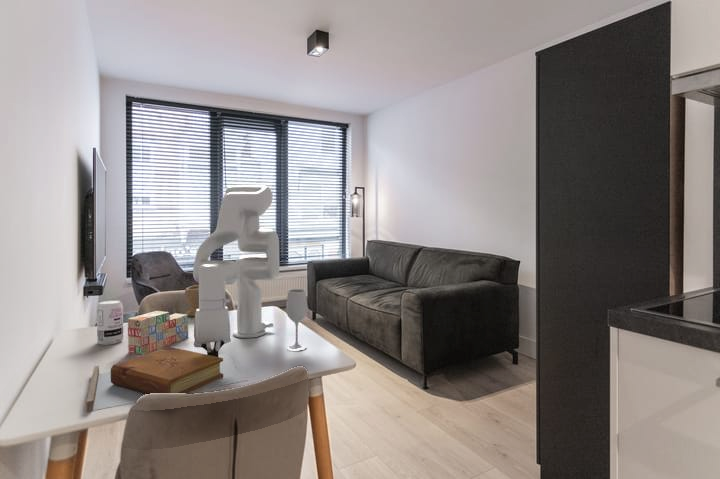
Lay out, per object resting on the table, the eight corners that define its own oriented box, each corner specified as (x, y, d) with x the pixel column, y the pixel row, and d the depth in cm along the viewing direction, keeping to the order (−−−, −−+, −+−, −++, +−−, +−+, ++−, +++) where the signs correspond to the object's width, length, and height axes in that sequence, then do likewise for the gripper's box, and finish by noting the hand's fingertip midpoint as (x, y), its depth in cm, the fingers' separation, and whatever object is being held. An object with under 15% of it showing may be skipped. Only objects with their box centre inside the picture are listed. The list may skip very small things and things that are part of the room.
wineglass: (299, 343, 148) (299, 288, 147) (311, 348, 143) (311, 290, 142) (281, 348, 143) (281, 290, 142) (294, 353, 138) (294, 293, 137)
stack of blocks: (176, 336, 156) (175, 305, 156) (188, 338, 154) (188, 306, 154) (127, 353, 136) (127, 317, 136) (141, 355, 134) (141, 319, 134)
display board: (227, 354, 137) (227, 346, 136) (247, 381, 114) (247, 371, 114) (94, 375, 117) (94, 366, 117) (87, 412, 95) (86, 401, 95)
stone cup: (179, 317, 185) (179, 285, 185) (197, 312, 197) (197, 282, 196) (206, 320, 181) (205, 288, 180) (222, 314, 192) (222, 284, 191)
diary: (110, 386, 110) (110, 365, 110) (169, 364, 127) (169, 346, 126) (168, 402, 100) (167, 380, 100) (223, 376, 117) (223, 357, 116)
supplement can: (105, 338, 152) (104, 300, 151) (127, 338, 152) (126, 300, 152) (92, 345, 144) (91, 304, 143) (116, 345, 144) (115, 304, 143)
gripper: (234, 299, 128) (234, 355, 129) (184, 304, 120) (184, 363, 121) (240, 304, 121) (240, 362, 122) (187, 309, 114) (188, 372, 115)
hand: (212, 363), depth 122 cm, fingers closed
